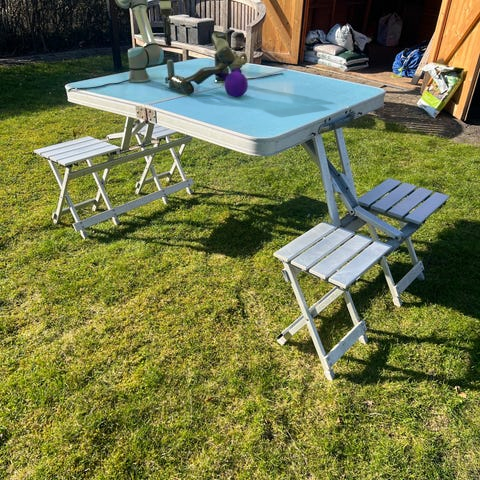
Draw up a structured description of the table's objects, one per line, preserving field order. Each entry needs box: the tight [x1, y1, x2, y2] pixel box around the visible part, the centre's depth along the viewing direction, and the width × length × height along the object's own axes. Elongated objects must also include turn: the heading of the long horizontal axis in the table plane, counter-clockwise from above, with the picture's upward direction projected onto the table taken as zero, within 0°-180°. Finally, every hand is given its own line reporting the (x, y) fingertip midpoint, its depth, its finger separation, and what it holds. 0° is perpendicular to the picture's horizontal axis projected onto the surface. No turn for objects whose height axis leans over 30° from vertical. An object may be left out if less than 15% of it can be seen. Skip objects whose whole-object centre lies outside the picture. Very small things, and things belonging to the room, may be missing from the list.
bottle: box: [166, 59, 177, 89], centre depth 313 cm, size 5×5×18 cm
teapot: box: [228, 50, 248, 71], centre depth 366 cm, size 21×12×15 cm, turn 120°
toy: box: [213, 68, 249, 99], centre depth 288 cm, size 16×18×27 cm
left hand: (168, 45), depth 313 cm, fingers closed on lid, 5 cm apart
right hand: (170, 78), depth 316 cm, fingers closed on bottle, 4 cm apart
